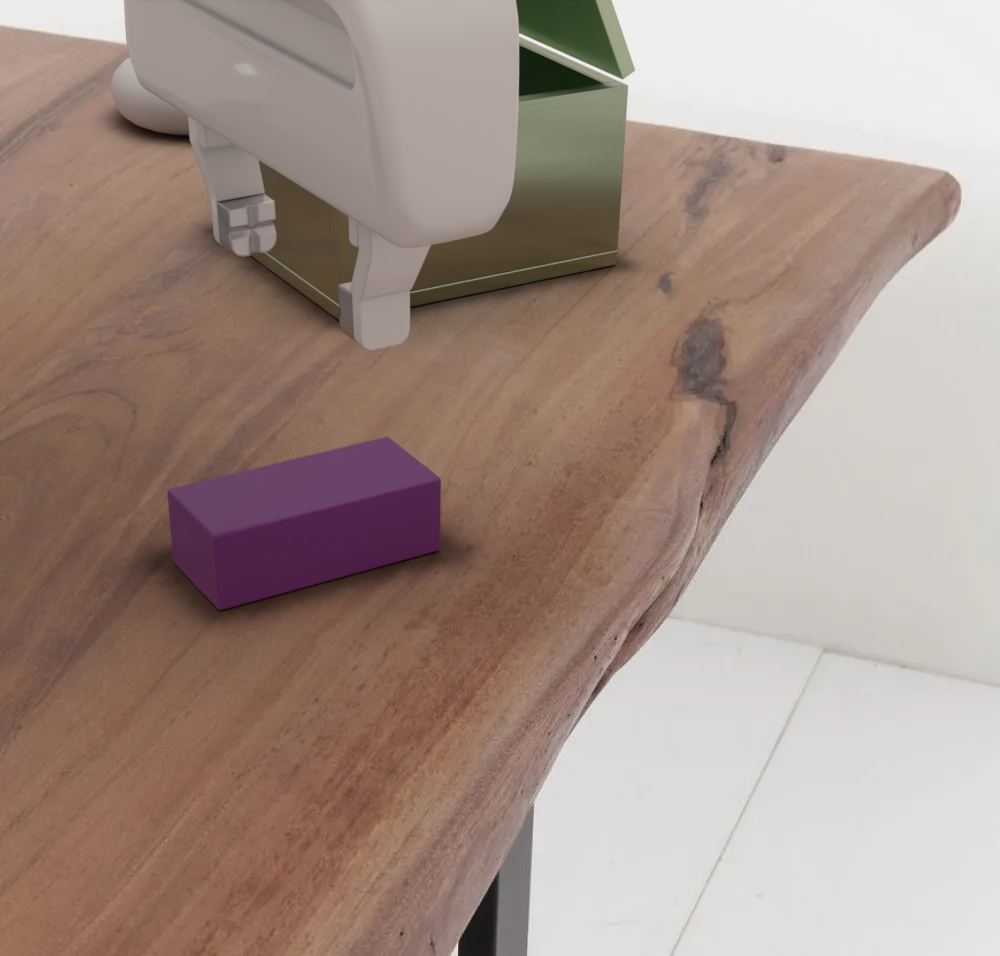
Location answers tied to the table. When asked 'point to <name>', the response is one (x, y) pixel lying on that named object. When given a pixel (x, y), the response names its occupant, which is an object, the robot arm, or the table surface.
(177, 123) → the donut
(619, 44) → the green box lid
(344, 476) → the purple rectangular block
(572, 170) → the green metal box
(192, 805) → the table surface
